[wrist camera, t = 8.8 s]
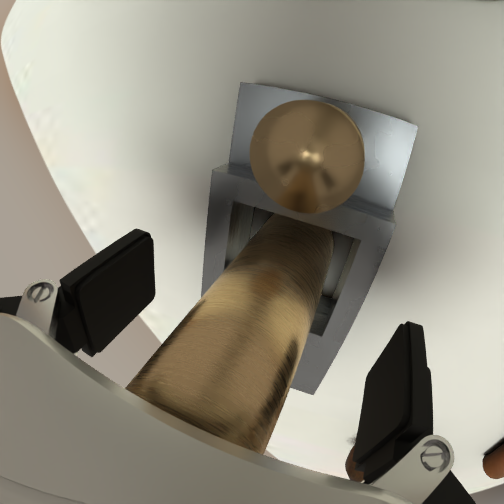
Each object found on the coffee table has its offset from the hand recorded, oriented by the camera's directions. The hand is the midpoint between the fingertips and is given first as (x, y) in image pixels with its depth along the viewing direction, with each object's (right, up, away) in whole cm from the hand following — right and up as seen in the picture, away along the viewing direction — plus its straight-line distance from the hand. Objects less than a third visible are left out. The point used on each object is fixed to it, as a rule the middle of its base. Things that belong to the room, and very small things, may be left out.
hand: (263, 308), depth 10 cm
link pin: (+2, +2, +4) cm, 5 cm away
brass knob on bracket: (+2, +2, +4) cm, 5 cm away
